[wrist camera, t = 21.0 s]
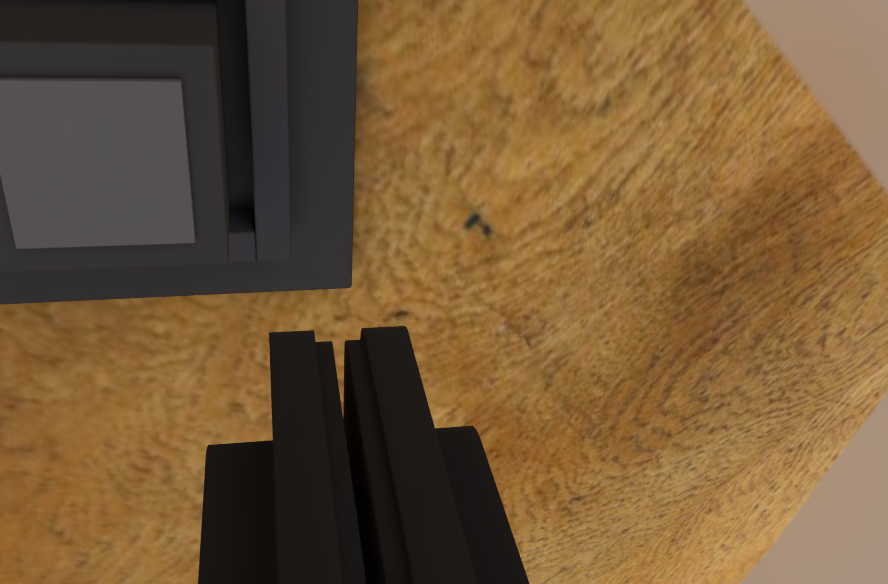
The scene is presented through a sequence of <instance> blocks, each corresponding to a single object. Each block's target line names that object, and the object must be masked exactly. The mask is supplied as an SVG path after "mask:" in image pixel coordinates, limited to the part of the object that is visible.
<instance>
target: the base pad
mask: <svg viewBox="0 0 888 584" xmlns="http://www.w3.org/2000/svg"><path fill="white" fill-rule="evenodd" d="M217 5H218V21H219V37H220V53H221V69H222V85H223V101H224V116H225V132H226V148H227V164H228V180H229V261H228V263H226V264H200V265H175V266H149V267H123V268H98V269H72V270H47V271H21V272H0V304H18V303H39V302H60V301H82V300H103V299H124V298H146V297H167V296H188V295H210V294H231V293H252V292H274V291H295V290H316V289H337V288H351V286H352V244H353V199H354V153H355V108H356V63H357V18H358V0H217Z"/></svg>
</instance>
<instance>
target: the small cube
mask: <svg viewBox="0 0 888 584" xmlns="http://www.w3.org/2000/svg"><path fill="white" fill-rule="evenodd" d="M228 261H229V180H228V164H227V148H226V132H225V116H224V101H223V85H222V69H221V53H220V37H219V21H218V5H217V0H0V272H21V271H47V270H72V269H98V268H123V267H149V266H175V265H200V264H226V263H228Z"/></svg>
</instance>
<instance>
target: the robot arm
mask: <svg viewBox="0 0 888 584" xmlns="http://www.w3.org/2000/svg"><path fill="white" fill-rule="evenodd" d="M269 343H270V371H271V400H272V428H273V440H272V441H258V442H244V443H231V444H217V445H208V447H207V451H206V463H205V479H204V496H203V512H202V528H201V545H200V561H199V578H198V584H529V581H528V578H527V575H526V572H525V569H524V567H523V564H522V561H521V558H520V555H519V552H518V549H517V546H516V543H515V540H514V537H513V534H512V531H511V528H510V525H509V522H508V519H507V516H506V513H505V510H504V507H503V504H502V501H501V498H500V496H499V493H498V490H497V487H496V484H495V481H494V478H493V475H492V472H491V469H490V466H489V463H488V460H487V457H486V454H485V451H484V448H483V445H482V442H481V439H480V437H479V435H478V432H477V430H476V429H475V428H474V427H473V426H463V427H449V428H435V427H434V424H433V420H432V417H431V413H430V409H429V406H428V402H427V398H426V395H425V391H424V388H423V384H422V380H421V377H420V373H419V369H418V366H417V362H416V359H415V355H414V351H413V348H412V344H411V340H410V337H409V333H408V330H407V328H406V327H405V326H397V327H376V328H362V330H361V337H360V340H348V341H345V350H344V416H343V415H342V408H341V401H340V394H339V387H338V379H337V372H336V365H335V358H334V351H333V345H332V341H328V342H315V335H314V331H293V332H272V333H269Z"/></svg>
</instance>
